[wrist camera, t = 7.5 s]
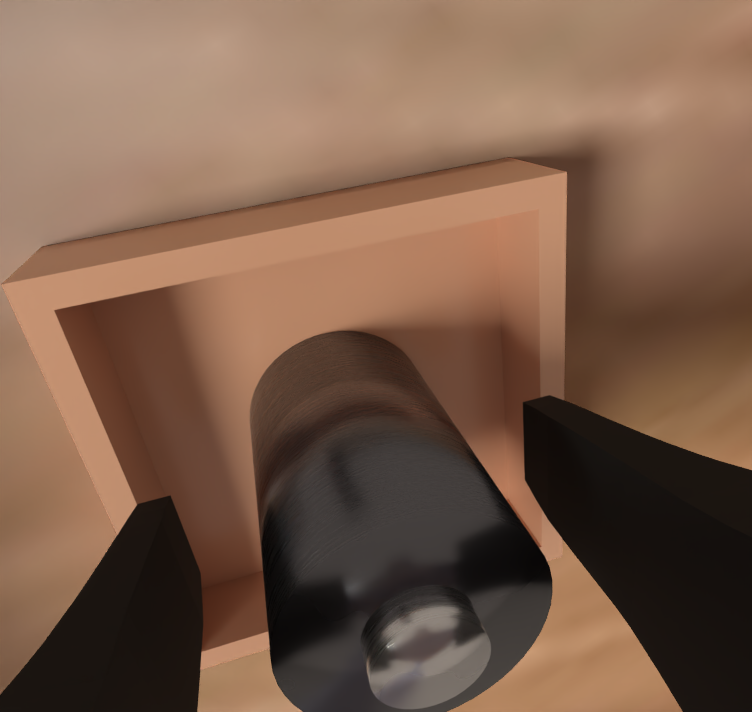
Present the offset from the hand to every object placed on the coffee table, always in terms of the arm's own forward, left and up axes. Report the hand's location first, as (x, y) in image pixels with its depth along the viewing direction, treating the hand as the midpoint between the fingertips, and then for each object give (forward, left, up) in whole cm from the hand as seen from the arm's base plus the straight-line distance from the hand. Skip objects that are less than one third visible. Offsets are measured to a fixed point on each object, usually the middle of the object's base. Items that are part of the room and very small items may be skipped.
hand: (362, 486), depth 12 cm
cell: (0, 0, -3) cm, 3 cm away
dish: (0, 0, -4) cm, 4 cm away
